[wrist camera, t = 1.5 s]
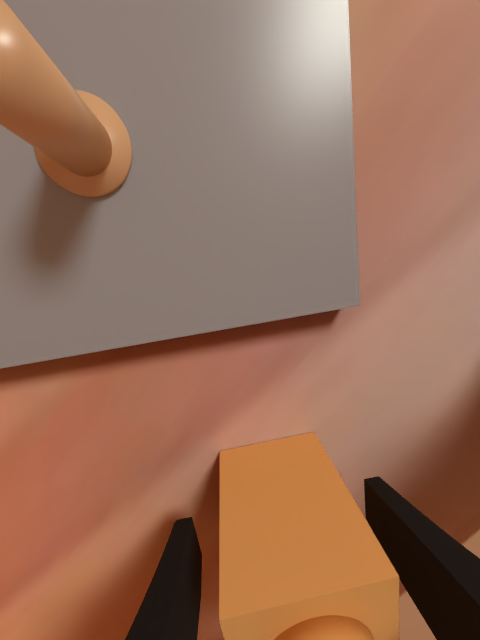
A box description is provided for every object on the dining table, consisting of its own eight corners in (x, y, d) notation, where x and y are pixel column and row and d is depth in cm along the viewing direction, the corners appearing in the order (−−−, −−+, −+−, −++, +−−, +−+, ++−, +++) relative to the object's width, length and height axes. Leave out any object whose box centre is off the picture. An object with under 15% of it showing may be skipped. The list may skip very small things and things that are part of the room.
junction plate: (322, -103, 6) (478, -676, 3) (345, 302, 9) (439, 323, 5) (-286, -57, 6) (-1420, -797, 2) (-69, 373, 8) (-327, 464, 4)
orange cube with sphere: (314, 431, 10) (429, 627, 5) (321, 506, 11) (424, 744, 6) (219, 451, 10) (219, 681, 4) (235, 525, 11) (251, 794, 5)
